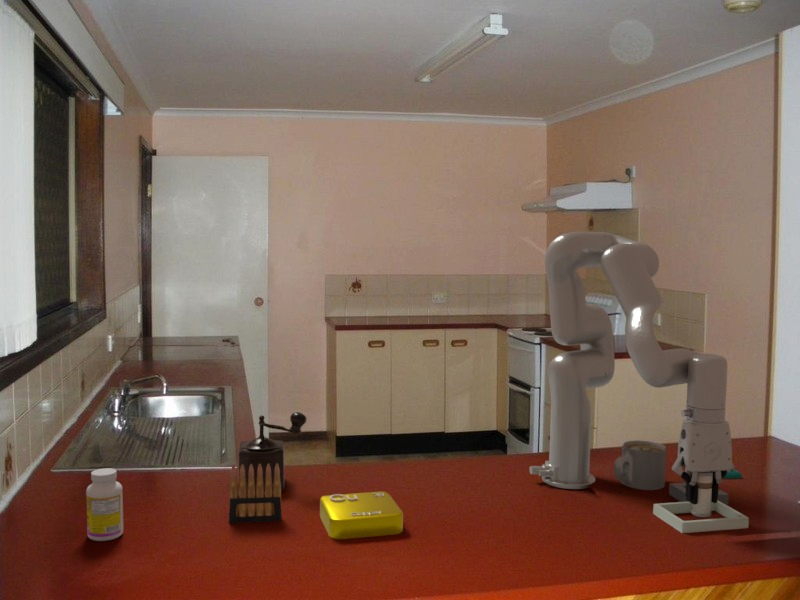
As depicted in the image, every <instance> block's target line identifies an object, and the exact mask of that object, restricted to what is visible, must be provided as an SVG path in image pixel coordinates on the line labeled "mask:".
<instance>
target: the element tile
mask: <svg viewBox="0 0 800 600" xmlns="http://www.w3.org/2000/svg"><path fill="white" fill-rule="evenodd" d="M319 517H320V520H321V521H322V524H323V526H324V528H325V530H326V533H327V535H328V537H329V538H331V539H333V540H347V539H348V540H349V539H359V538H366V537H367V538H370V537H381V536H382V537H383V536H391V535H392V536H394V535H399V534H401V532H402V533H403V530H404V512H403V511H402V509H401V508H400V507H399V505H398V503H396V501H395V500H394V499H393V497H392V496H391V494H389V493H388V492H386V491H384V490H383V491H382V490H381V491H370V492H358V493H357V492H356V493H354V492H353V493H343V494H341V493H335V494H329V495H327V494H326V495H322V496H321V497H320V498H319Z"/></svg>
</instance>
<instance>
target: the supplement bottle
mask: <svg viewBox="0 0 800 600" xmlns="http://www.w3.org/2000/svg"><path fill="white" fill-rule="evenodd" d="M117 477H118V473H117V470H116V468H110V467H108V468H107V467H106V468H104V467H103V468H99V469H95V470H93V471H91V472H90V479H91V481H92V483H91V484H89V485H88V486H87V488H86V490H85V491H86V492H85V497H86V531H87V532H86V533H87V537H88V539H90V540H91V541H94V542H95V541H96V542H106V541H107V542H108V541H113V540H115V539H118V538H119V537H120V536H122V534H123V533H124V501H123V500H124V499H123V497H124V496H123V485H122V484H121V483H120V482H119V481H117Z"/></svg>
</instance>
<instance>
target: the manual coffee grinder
mask: <svg viewBox="0 0 800 600" xmlns="http://www.w3.org/2000/svg"><path fill="white" fill-rule="evenodd" d="M258 419H259V420H258V425H259V436H258V437H256V438H255V437H254V439H251V440H242V441H240V444H239V449H238V477H239V476H240V468H241V465H242V464H243V465H244V468H245V478H246V486H247V484H248V473H249V467H250V464H252V465H253V469H254V480H255V493H256V482H257V470H258V466H259V464H261V466H262V471H263V482H264V485H265V477H266V467H267V464H268V463H269V464H270V467H271V477H272V491H273V482H274V470H275V466H276V463H278V465H279V469H280V481H281V491H284V490H285V484H286V483H285V481H286V480H285V457H284V456H285V455H284V454H285V444H284V441H283V440H275V439H271V438H269V437H266V436H265V433H264V431H265V430H264V427H266V428H269V429H275V430H280V431H285V432H288V433H291V434H293V435H297V434H301V433H302V427H303V426H304V425H305V424H306V423H307V416H306V415H305V414H303V413H302V412H301V411H299V412H298V411H296V412H293V413H292V414H291V415H290V418H289V419H290V422H291V426H290V427H287V426H283V425H277V424H272V423H271V424H270V423H266V421H264V420H265V416H264V415H259V417H258Z"/></svg>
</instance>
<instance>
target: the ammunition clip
mask: <svg viewBox="0 0 800 600" xmlns="http://www.w3.org/2000/svg"><path fill="white" fill-rule="evenodd" d="M237 477H238V478H237ZM229 480H230V481H229V482H230V483H229V513H228V523H229V524H236V523H238V524H239V523H263V522H264V523H265V522H266V523H268V522H282V520H283V519H282V490H281V481H280V469H279V465H278V463H276V466H275V470H274V482H273V491H272V477H271V467H270V464H269V463H268V464H267V467H266V477H265V485H264V482H263V471H262V466H261V464H259V466H258V470H257V482H256V492H255V480H254V469H253V465H252V464H250V467H249V473H248V484H247V486H246V478H245V468H244V465H243V464H242V465H241V468H240V476H239V475H238V476H237V469H236V466H235V464H234V463H233V464H232V466H231V469H230V479H229Z"/></svg>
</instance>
